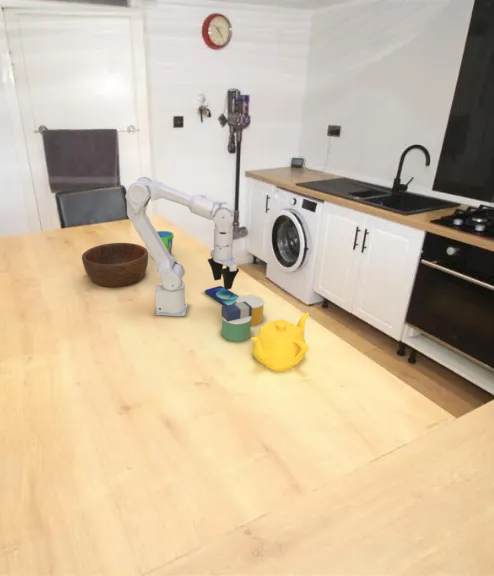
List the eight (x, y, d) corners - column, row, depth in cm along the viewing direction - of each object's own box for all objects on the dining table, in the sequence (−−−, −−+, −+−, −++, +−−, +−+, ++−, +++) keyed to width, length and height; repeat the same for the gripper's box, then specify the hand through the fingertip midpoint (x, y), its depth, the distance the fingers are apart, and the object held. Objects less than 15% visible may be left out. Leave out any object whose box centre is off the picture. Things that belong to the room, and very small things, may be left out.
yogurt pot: (220, 341, 120) (220, 322, 117) (222, 325, 127) (222, 308, 125) (250, 342, 119) (251, 324, 116) (250, 327, 127) (251, 309, 124)
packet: (227, 321, 117) (227, 312, 116) (221, 315, 121) (221, 306, 119) (251, 315, 120) (252, 306, 119) (245, 310, 124) (245, 301, 122)
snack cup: (149, 251, 189) (147, 229, 184) (171, 249, 191) (170, 228, 186) (152, 263, 175) (151, 240, 171) (176, 261, 177) (176, 238, 173)
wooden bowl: (71, 284, 155) (67, 259, 151) (109, 262, 176) (106, 239, 172) (127, 295, 147) (125, 269, 142) (160, 270, 168) (159, 246, 163)
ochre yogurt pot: (235, 324, 128) (235, 306, 125) (236, 311, 136) (236, 294, 133) (263, 325, 127) (264, 308, 125) (262, 312, 135) (263, 295, 133)
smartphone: (220, 285, 152) (245, 300, 141) (220, 287, 153) (245, 302, 141) (203, 290, 149) (227, 306, 137) (203, 292, 149) (227, 308, 137)
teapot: (274, 390, 100) (277, 353, 95) (232, 360, 111) (233, 326, 106) (330, 358, 112) (336, 324, 107) (288, 334, 123) (291, 302, 118)
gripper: (246, 249, 120) (244, 290, 126) (224, 235, 132) (223, 273, 138) (224, 252, 118) (224, 294, 124) (204, 238, 130) (204, 277, 136)
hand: (222, 284), depth 131 cm, fingers open, 7 cm apart
